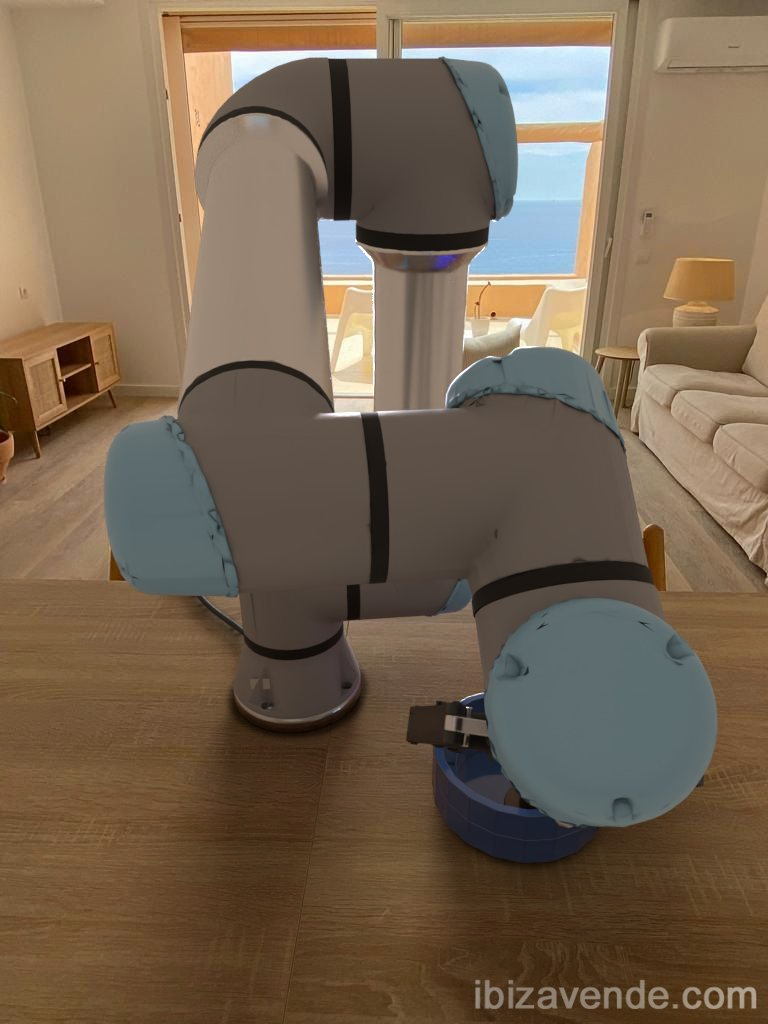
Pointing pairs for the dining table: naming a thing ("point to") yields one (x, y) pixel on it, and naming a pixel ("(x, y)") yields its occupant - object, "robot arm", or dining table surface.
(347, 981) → the dining table surface
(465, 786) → the bowl
